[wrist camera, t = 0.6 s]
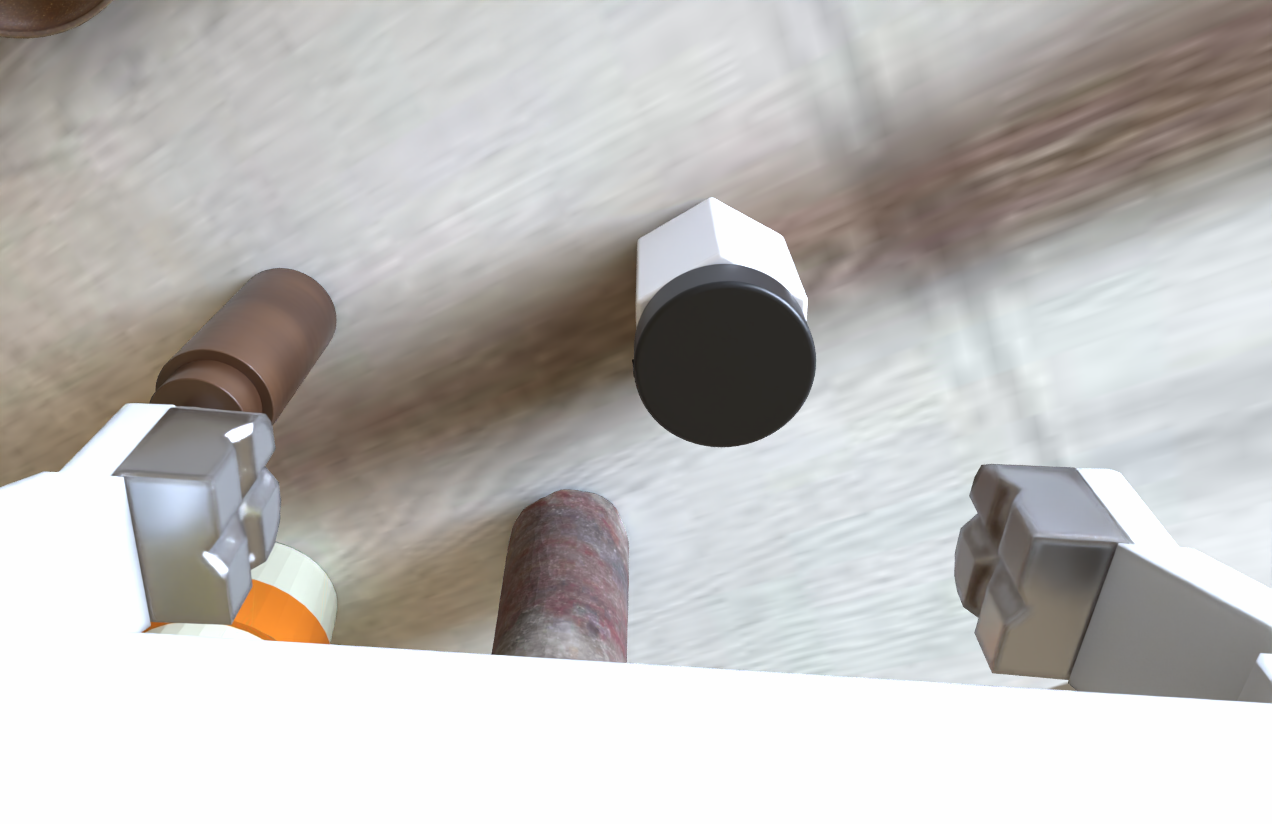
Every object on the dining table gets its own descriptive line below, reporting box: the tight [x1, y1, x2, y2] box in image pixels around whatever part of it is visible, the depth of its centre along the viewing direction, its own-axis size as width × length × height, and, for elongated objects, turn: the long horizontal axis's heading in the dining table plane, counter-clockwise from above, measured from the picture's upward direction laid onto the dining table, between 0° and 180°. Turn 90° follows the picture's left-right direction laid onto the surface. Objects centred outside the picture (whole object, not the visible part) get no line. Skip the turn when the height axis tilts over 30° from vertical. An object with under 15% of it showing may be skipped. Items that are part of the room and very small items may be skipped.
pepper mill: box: [149, 268, 336, 426], centre depth 51 cm, size 5×5×15 cm
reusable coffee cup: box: [141, 543, 338, 644], centre depth 60 cm, size 12×13×15 cm
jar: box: [632, 197, 816, 447], centre depth 51 cm, size 9×8×12 cm
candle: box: [491, 490, 629, 663], centre depth 55 cm, size 8×7×20 cm
